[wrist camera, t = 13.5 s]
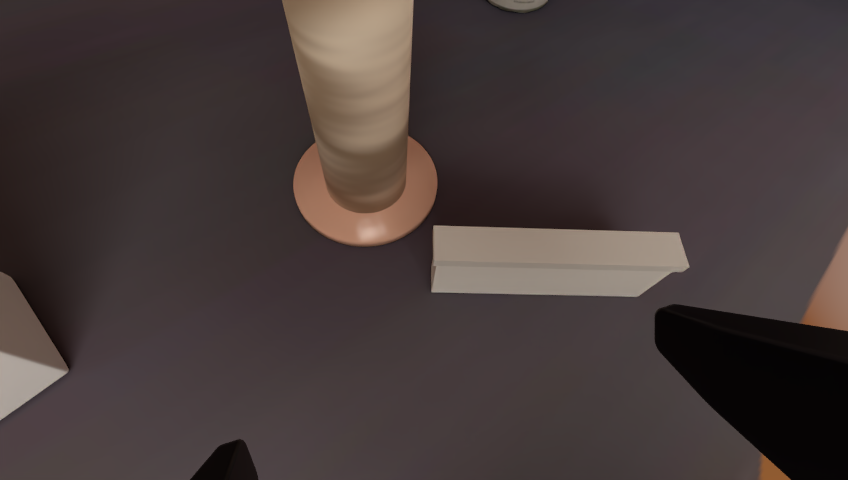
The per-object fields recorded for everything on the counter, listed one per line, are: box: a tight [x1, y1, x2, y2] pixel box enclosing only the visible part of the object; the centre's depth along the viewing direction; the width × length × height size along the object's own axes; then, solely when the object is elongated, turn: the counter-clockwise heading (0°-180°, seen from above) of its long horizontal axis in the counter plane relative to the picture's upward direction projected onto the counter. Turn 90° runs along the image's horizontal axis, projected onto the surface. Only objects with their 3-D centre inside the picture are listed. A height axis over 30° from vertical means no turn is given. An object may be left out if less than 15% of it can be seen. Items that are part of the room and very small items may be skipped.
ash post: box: [282, 0, 413, 213], centre depth 22 cm, size 5×5×12 cm
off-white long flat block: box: [431, 226, 689, 297], centre depth 23 cm, size 12×2×5 cm, turn 90°
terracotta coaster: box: [293, 136, 437, 247], centre depth 27 cm, size 9×9×1 cm
